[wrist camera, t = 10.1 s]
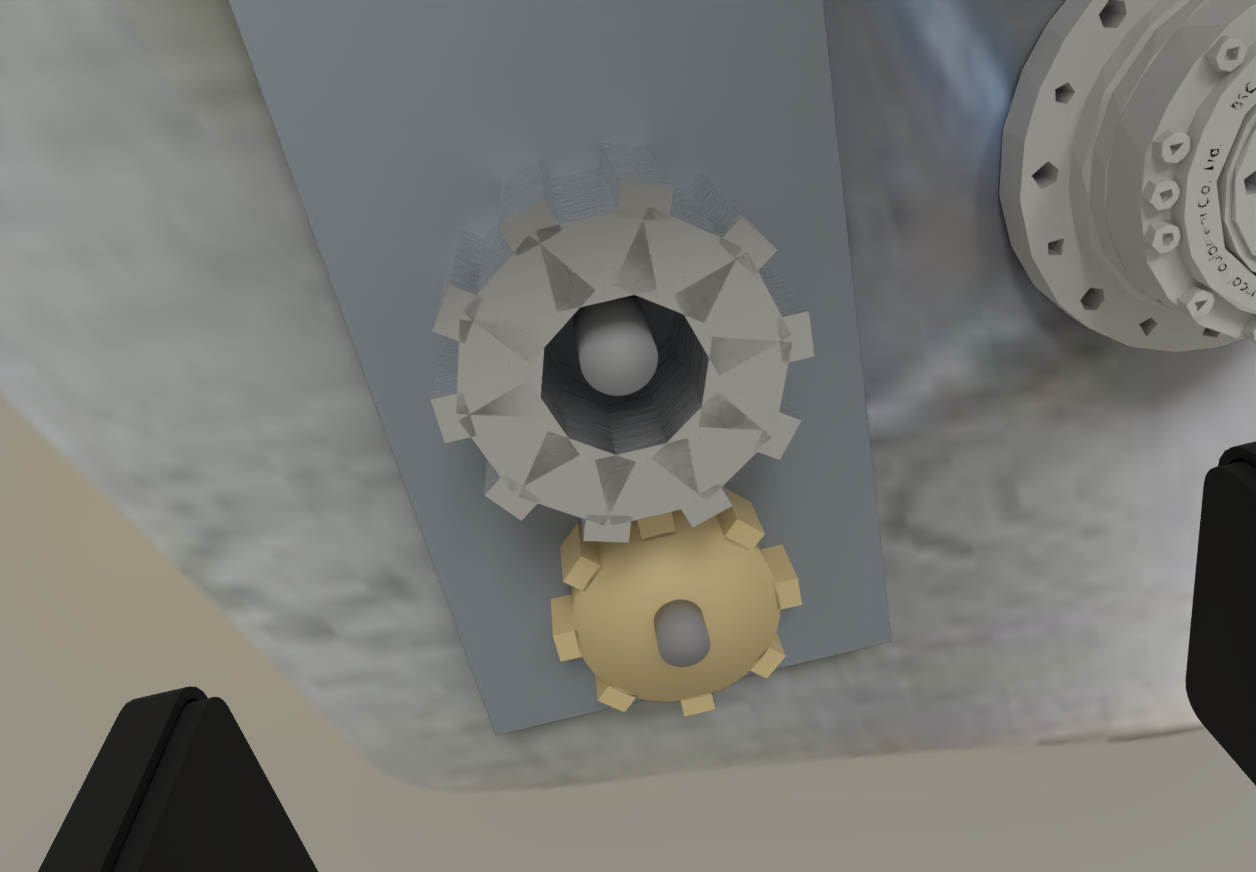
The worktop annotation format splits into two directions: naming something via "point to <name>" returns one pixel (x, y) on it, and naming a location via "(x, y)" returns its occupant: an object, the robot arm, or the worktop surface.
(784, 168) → the gear board
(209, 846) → the robot arm
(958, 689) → the worktop surface
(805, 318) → the steel gear
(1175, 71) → the mechanical component
